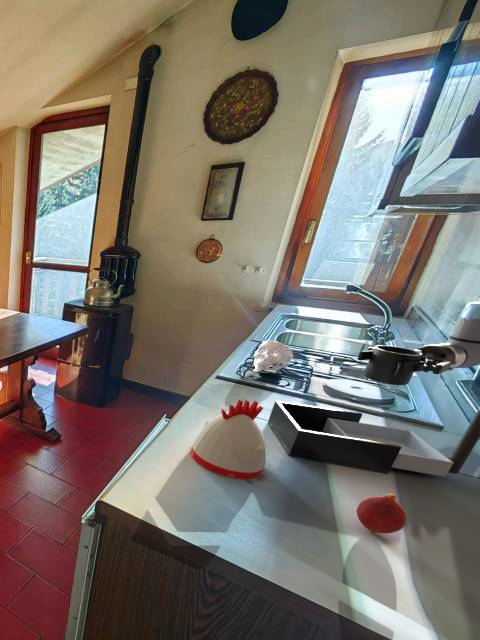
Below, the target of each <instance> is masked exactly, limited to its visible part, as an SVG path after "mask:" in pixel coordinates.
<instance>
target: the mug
mask: <svg viewBox="0 0 480 640" xmlns="http://www.w3.org/2000/svg"><path fill="white" fill-rule="evenodd" d="M374 347H375V348H374V351H373V353H372V355H371V357H370V360H368V362H367V365H366V367H365V369H364V371H363V373H362V374H363V375H362V376H363V377H364V378H366V379H368V380H371V381H373V382H377V383H381V384H386V385H392V386H407V385H409V383H410V381H411V379H412V377H413V375H414V373H415V372H407V373H402V372H400V371H401V369H402V367H403V365H404V363H405V362H418V361H420V359H421V357H422V353H420V352H417V351H414V350H415V349H410V348H406V347H400V346H393V345H375V346H374Z"/></svg>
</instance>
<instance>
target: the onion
mask: <svg viewBox="0 0 480 640" xmlns="http://www.w3.org/2000/svg"><path fill="white" fill-rule="evenodd" d="M396 499H397V496H396V495H395V494H394V493H390V492H389V493H387V494H385V495H383V496H382V495H374V496H369V497H366V498H364V499H362V500H361V501H360V503H359V504H358V505H357V506H356V511H355V512H356V516H357V519H358V521H359V522H360V524H361V525H362V526H363V527H364V528H366V529H367V530H368V531H369V532H371V533H373V534H392V533H395V532H399V531H401V530H402V529H403V528H404V527H405V524H406V522H407V514H406V511H405V510H404V507H402V505H401V504H400V503H399V502H398V501H397V500H396Z"/></svg>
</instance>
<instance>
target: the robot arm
mask: <svg viewBox="0 0 480 640" xmlns="http://www.w3.org/2000/svg"><path fill="white" fill-rule="evenodd" d="M374 348H375V346H374V347H372V346H369V347H367V350H360V352H359V354H358V357H357V359H356V360H357V361H369V360H370V357H371V355H372V353H373V351H374ZM413 350H414V351H417V352H420V353H422V357H421V359H420V361H418V362H405V363H404V365H403V367H402V369H401V371H400V372H402V373H407V372H414V373H416V372H417V373H418V372H424V373H429V372H432V374H433V375H440V374H443V373H444V372H448V371H453V370H454V369H466V368H467V369H468V368H472V367H473V368H474V367H476V366H480V301H472V302H468V303H467V304H466V305H465V307H464V308H463V309H462V311H461V313H460V314H459V315H458V319H457V321H456V323H455V325H454V328H453V330H452V332H451V334H450V336H449V337H448V339H447V341H446V343H437V344H425V345H422V346H420V347H418V348H416V349H413Z"/></svg>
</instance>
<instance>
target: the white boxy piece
mask: <svg viewBox="0 0 480 640" xmlns="http://www.w3.org/2000/svg"><path fill="white" fill-rule="evenodd" d="M323 431H324V432H325V433H326V434H332V435H338V436H345V437H351V438H357V439H363V440H369V441H376V442H382V443H388V444H394V445H400V446H401V447H402V448H401V450H400V452H399V454H398V455H397V457H396V459H395V461H394V463H393V465H392V467H391V468H392V469H393V468H394V469H399V470H405V471H410V472H417V473H420V474H421V473H422V474H428V475H432V476H437V477H438V476H439V477H447V475H448V473H450V474H453V475H458V474H459V473H460V471H461V470H462V468H463V466H464V465H465V463H466V461H467V460H468V458H469V457H470V454H471V453H472V451H473V450H474V448H475V447H476V445H477V443H478V442H479V440H480V408H479V409H477V411H476V413H475V415H474V417H473V418H472V419H471V421H470V423H469V425H468V427H467V428H466V429H465V432H464V433H463V435H462V437H461V438H460V440H459V442H458V444H457V445H456V447H455V449H454V450H453V452H452V455H451V456H450V457H448V456H446V455H444V453H442V452H440V451H439V450H438V449H437V448H435V447H434V446H433V445H431V444H430V443H429V442H427V441H426V440H425V439H424V438H422V437H420V436H419V435H418V434H416V433H415V432H414V431H413V430H411V429H404V428H398V427H392V426H385V425H378V424H372V423H371V424H370V423H364V422H359V423H358V422H352V421H345V420H338V419H332V418H328V419H327V421H326V424H325V426H324V429H323Z"/></svg>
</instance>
